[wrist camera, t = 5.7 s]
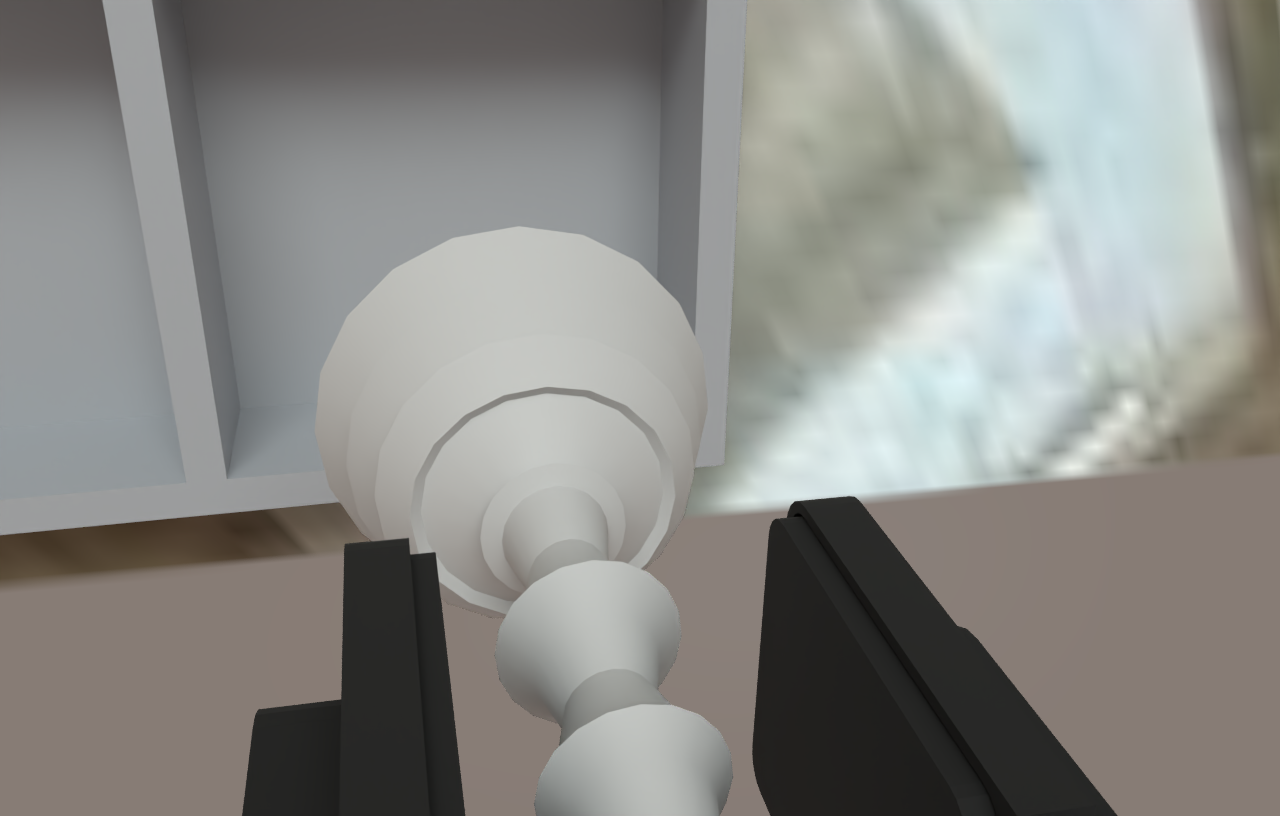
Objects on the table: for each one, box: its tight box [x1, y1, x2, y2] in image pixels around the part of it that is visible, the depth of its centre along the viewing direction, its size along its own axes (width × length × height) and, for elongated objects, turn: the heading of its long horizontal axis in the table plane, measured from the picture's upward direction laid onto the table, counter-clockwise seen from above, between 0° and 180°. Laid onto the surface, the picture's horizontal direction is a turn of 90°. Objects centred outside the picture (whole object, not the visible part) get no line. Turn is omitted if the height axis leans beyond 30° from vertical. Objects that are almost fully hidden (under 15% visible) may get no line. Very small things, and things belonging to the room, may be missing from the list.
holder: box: [0, 0, 747, 535], centre depth 24 cm, size 22×12×4 cm, turn 89°
